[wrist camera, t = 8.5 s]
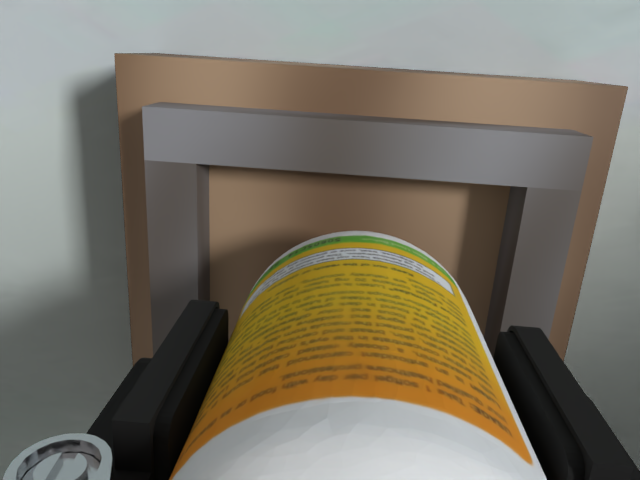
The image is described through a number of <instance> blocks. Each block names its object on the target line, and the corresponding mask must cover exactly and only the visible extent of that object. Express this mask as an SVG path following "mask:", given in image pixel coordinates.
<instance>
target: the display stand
mask: <svg viewBox="0 0 640 480" xmlns="http://www.w3.org/2000/svg"><path fill="white" fill-rule="evenodd" d="M114 54H115V71H116V88H117V105H118V122H119V139H120V156H121V173H122V190H123V207H124V224H125V241H126V258H127V275H128V292H129V309H130V326H131V343H132V360H133V366H134V365H135V363H136V362H137V361H138V360H139V359H140V358H153V356H154V355H155V353H156V352H157V350H158V348H159V347H160V345H161V344H162V342H163V341H164V339H165V338H166V336H167V335H168V333H169V332H170V330H171V329H172V327H173V326H174V324H175V323H176V321H177V320H178V318H179V317H180V315H181V314H182V312H183V311H184V309H185V307H186V306H187V304H188V303H189V301H190V300H203V301H215V302H218V303H219V306H220V309H227V310H228V342H229V340H230V337H231V335H232V333H233V330H234V328H235V326H236V323H237V321H238V318H239V316H240V313H241V311H242V308H243V306H244V304H245V302H246V300H247V298H248V296H249V294H250V292H251V290H252V289H253V287H254V285H255V284H256V282H257V281H258V279H259V278H260V277H261V275H262V274H263V273H264V272H265V270H266V269H267V268H268V267H269V266H270V265H271V264H272V263H273V262H274V261H275V260H276V259H278V258H279V257H280V256H281V255H283V254H284V253H286V252H287V251H288V250H290V249H291V248H293V247H295V246H297V245H299V244H301V243H303V242H305V241H308V240H310V239H312V238H316V237H319V236H322V235H326V234H331V233H336V232H344V231H369V232H376V233H381V234H386V235H390V236H393V237H396V238H399V239H401V240H404V241H406V242H408V243H410V244H412V245H414V246H416V247H417V248H419V249H421V250H423V251H424V252H426V253H427V254H429V255H430V256H431V257H433V258H434V259H435V260H436V261H437V262H439V263H440V264H441V265H442V266H443V267H444V268H445V269H446V270H447V271H448V272H449V274H450V275H451V276H452V277H453V278H454V280H455V281H456V283H457V284H458V286H459V287H460V289H461V291H462V293H463V294H464V296H465V298H466V300H467V302H468V304H469V306H470V308H471V310H472V313H473V315H474V317H475V319H476V322H477V324H478V326H479V328H480V331H481V333H482V335H483V337H484V340H485V342H486V344H487V347H488V349H489V351H490V353H491V356H492V358H494V353H495V348H496V342H497V338H498V335H499V333H500V332H507V330H508V328H509V327H510V326H511V325H512V326H525V327H537V328H540V329H541V330H542V331H543V332H544V334H545V335H546V337H547V338H548V340H549V341H550V343H551V344H552V346H553V347H554V349H555V350H556V352H557V353H558V355H559V356H560V358H561V359H562V361H563V362H564V357H565V353H566V349H567V345H568V340H569V336H570V332H571V328H572V323H573V319H574V315H575V311H576V306H577V302H578V298H579V294H580V289H581V285H582V281H583V277H584V272H585V268H586V264H587V260H588V255H589V251H590V247H591V243H592V238H593V234H594V230H595V226H596V221H597V217H598V213H599V209H600V204H601V200H602V196H603V192H604V187H605V183H606V179H607V175H608V170H609V166H610V162H611V158H612V153H613V149H614V145H615V141H616V136H617V132H618V128H619V124H620V119H621V115H622V111H623V107H624V102H625V98H626V94H627V90H628V87H626V86H618V85H610V84H602V83H594V82H586V81H577V80H562V79H547V78H531V77H516V76H500V75H485V74H469V73H454V72H438V71H423V70H407V69H392V68H376V67H361V66H345V65H330V64H314V63H299V62H283V61H268V60H252V59H237V58H221V57H206V56H190V55H175V54H160V53H114Z"/></svg>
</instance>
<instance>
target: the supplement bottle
mask: <svg viewBox="0 0 640 480" xmlns="http://www.w3.org/2000/svg"><path fill="white" fill-rule="evenodd" d="M169 480H547V479H546V476H545V474H544V472H543V470H542V468H541V465H540V463H539V461H538V459H537V457H536V454H535V452H534V450H533V448H532V446H531V443H530V441H529V439H528V437H527V434H526V432H525V430H524V428H523V425H522V423H521V421H520V419H519V417H518V414H517V412H516V410H515V408H514V405H513V403H512V401H511V399H510V396H509V394H508V392H507V390H506V387H505V385H504V383H503V381H502V378H501V376H500V374H499V372H498V369H497V367H496V365H495V362H494V360H493V358H492V356H491V353H490V351H489V349H488V347H487V344H486V342H485V340H484V337H483V335H482V333H481V331H480V328H479V326H478V324H477V322H476V319H475V317H474V315H473V313H472V310H471V308H470V306H469V304H468V302H467V300H466V298H465V296H464V294H463V293H462V291H461V289H460V287H459V286H458V284H457V283H456V281H455V280H454V278H453V277H452V276H451V275H450V274H449V272H448V271H447V270H446V269H445V268H444V267H443V266H442V265H441V264H440V263H439V262H437V261H436V260H435V259H434V258H433V257H431V256H430V255H429V254H427V253H426V252H424V251H423V250H421V249H419V248H417V247H416V246H414V245H412V244H410V243H408V242H406V241H404V240H401V239H399V238H396V237H393V236H390V235H386V234H381V233H376V232H369V231H344V232H336V233H331V234H326V235H322V236H319V237H316V238H312V239H310V240H308V241H305V242H303V243H301V244H299V245H297V246H295V247H293V248H291V249H290V250H288V251H287V252H286V253H284V254H283V255H281V256H280V257H279V258H278V259H276V260H275V261H274V262H273V263H272V264H271V265H270V266H269V267H268V268H267V269H266V270H265V272H264V273H263V274H262V275H261V277H260V278H259V279H258V281H257V282H256V284H255V285H254V287H253V289H252V290H251V292H250V294H249V296H248V298H247V300H246V302H245V304H244V306H243V308H242V311H241V313H240V316H239V318H238V321H237V323H236V326H235V328H234V330H233V333H232V335H231V337H230V340H229V342H228V344H227V347H226V349H225V352H224V354H223V356H222V359H221V361H220V363H219V366H218V368H217V370H216V373H215V375H214V377H213V380H212V382H211V384H210V387H209V389H208V391H207V393H206V396H205V398H204V400H203V403H202V405H201V408H200V410H199V412H198V415H197V417H196V419H195V422H194V424H193V427H192V429H191V431H190V433H189V436H188V438H187V440H186V443H185V445H184V447H183V449H182V452H181V454H180V456H179V458H178V461H177V463H176V465H175V467H174V470H173V472H172V474H171V476H170V479H169Z"/></svg>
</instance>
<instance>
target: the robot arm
mask: <svg viewBox="0 0 640 480" xmlns="http://www.w3.org/2000/svg"><path fill="white" fill-rule="evenodd" d="M227 344H228V310H227V309H220V306H219V303H218V302H215V301H203V300H190V301H189V303H188V304H187V306H186V307H185V309H184V311H183V312H182V314H181V315H180V317H179V318H178V320H177V321H176V323H175V324H174V326H173V327H172V329H171V330H170V332H169V333H168V335H167V336H166V338H165V339H164V341H163V342H162V344H161V345H160V347H159V348H158V350H157V352H156V353H155V355H154V356H153V358H140V359H139V360H138V361H137V362H136V363H135V365H134V366H133V368H132V369H131V371H130V372H129V373H128V375H127V376H126V378H125V379H124V381H123V382H122V383H121V385H120V386H119V388H118V389H117V391H116V392H115V393H114V395H113V396H112V398H111V399H110V401H109V402H108V403H107V405H106V406H105V408H104V409H103V411H102V412H101V413H100V415H99V416H98V418H97V419H96V420H95V422H94V423H93V425H92V426H91V428H90V429H89V430H88V432H87V433H86V434H84V433H67V434H62V435H57V436H53V437H50V438H47V439H44V440H42V441H39V442H37V443H35V444H33V445H32V446H30V447H28V448H27V449H25V450H23V451H22V452H21V453H20V454H19V455H18V456H17V457H16V458H15V459H14V460H13V461H12V462H11V463H10V465H9V467H8V468H7V470H6V472H5V474H4V477H3V479H2V480H169V479H170V476H171V474H172V472H173V470H174V467H175V465H176V463H177V461H178V458H179V456H180V454H181V452H182V449H183V447H184V445H185V443H186V440H187V438H188V436H189V433H190V431H191V429H192V427H193V424H194V422H195V419H196V417H197V415H198V412H199V410H200V408H201V405H202V403H203V400H204V398H205V396H206V393H207V391H208V389H209V387H210V384H211V382H212V380H213V377H214V375H215V373H216V370H217V368H218V366H219V363H220V361H221V359H222V356H223V354H224V352H225V349H226V347H227ZM493 360H494V362H495V365H496V367H497V369H498V372H499V374H500V376H501V378H502V381H503V383H504V385H505V387H506V390H507V392H508V394H509V396H510V399H511V401H512V403H513V405H514V408H515V410H516V412H517V414H518V417H519V419H520V421H521V423H522V425H523V428H524V430H525V432H526V434H527V437H528V439H529V441H530V443H531V446H532V448H533V450H534V452H535V454H536V457H537V459H538V461H539V463H540V465H541V468H542V470H543V472H544V474H545V476H546V479H547V480H640V471H639V470H638V468H637V467H636V465H635V464H634V462H633V461H632V459H631V458H630V457H629V455H628V454H627V452H626V451H625V449H624V448H623V446H622V445H621V443H620V442H619V440H618V439H617V437H616V436H615V434H614V433H613V432H612V430H611V429H610V427H609V426H608V424H607V423H606V421H605V420H604V418H603V417H602V415H601V414H600V412H599V411H598V409H597V408H596V406H595V405H594V404H593V402H592V401H591V400H590V399H589V398H588V397H587V396H586V395H585V393H584V392H583V390H582V389H581V387H580V386H579V384H578V383H577V381H576V380H575V378H574V377H573V375H572V374H571V372H570V371H569V369H568V368H567V366H566V365H565V364H564V362H563V361H562V359H561V358H560V356H559V355H558V353H557V352H556V350H555V349H554V347H553V346H552V344H551V343H550V341H549V340H548V338H547V337H546V335H545V334H544V332H543V331H542V330H541V329H540V328H537V327H525V326H512V325H511V326H510V327H509V328H508V330H507V332H500V333H499V335H498V338H497V342H496V348H495V353H494V358H493Z"/></svg>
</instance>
